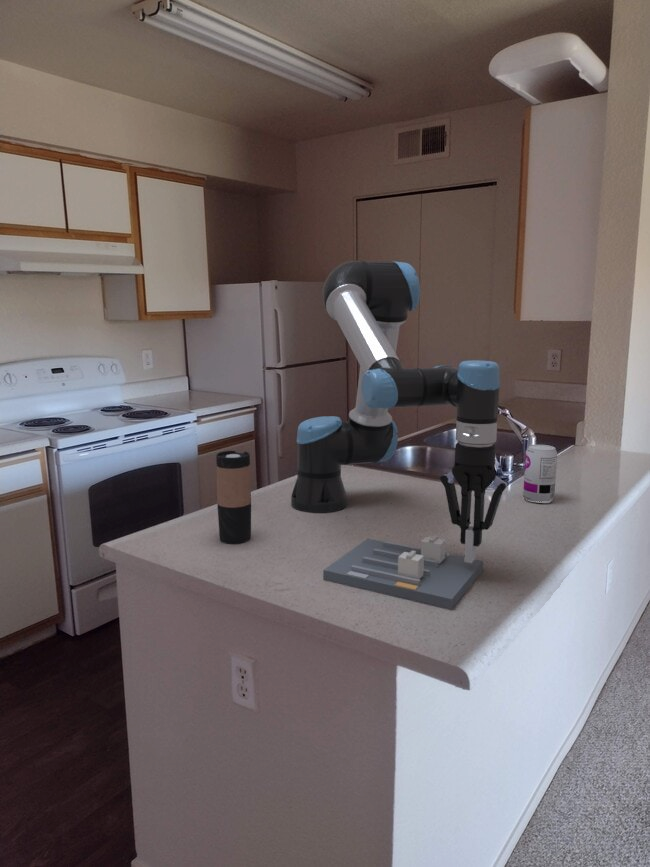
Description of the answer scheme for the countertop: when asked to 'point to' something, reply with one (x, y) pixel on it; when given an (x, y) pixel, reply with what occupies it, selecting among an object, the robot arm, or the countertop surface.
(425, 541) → the tab
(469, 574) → the switch board
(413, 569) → the tab
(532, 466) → the supplement can
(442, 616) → the countertop surface
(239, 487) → the travel mug
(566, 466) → the countertop surface
